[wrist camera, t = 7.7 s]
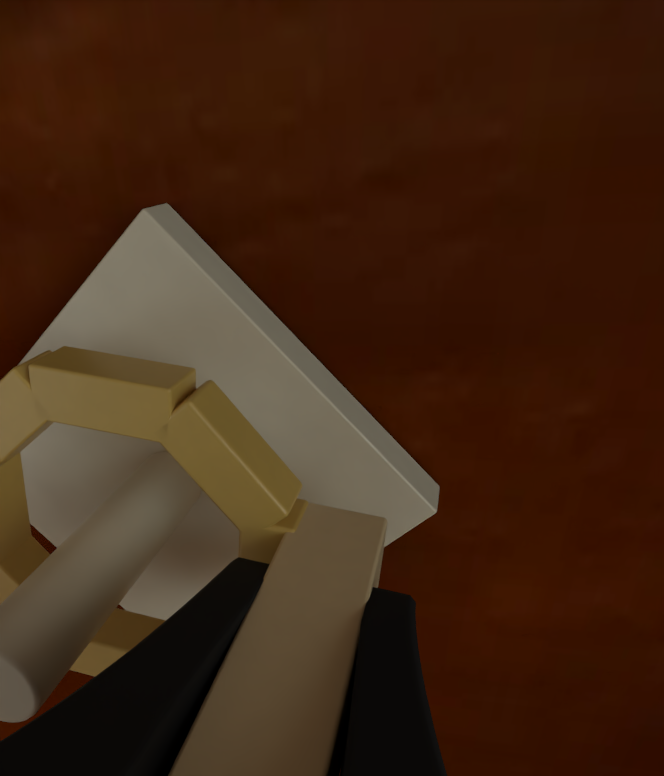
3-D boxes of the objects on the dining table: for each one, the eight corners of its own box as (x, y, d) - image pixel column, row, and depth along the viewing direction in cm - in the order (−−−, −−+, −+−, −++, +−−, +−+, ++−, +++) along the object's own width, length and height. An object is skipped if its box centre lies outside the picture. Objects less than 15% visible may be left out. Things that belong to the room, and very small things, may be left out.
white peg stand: (441, 486, 13) (407, 776, 7) (209, 644, 16) (60, 929, 11) (167, 201, 12) (-128, 273, 6) (-21, 431, 15) (-329, 619, 10)
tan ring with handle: (405, 403, 10) (314, 735, 4) (360, 702, 13) (270, 1132, 7) (-44, 326, 11) (-529, 511, 6) (4, 612, 14) (-294, 916, 9)
